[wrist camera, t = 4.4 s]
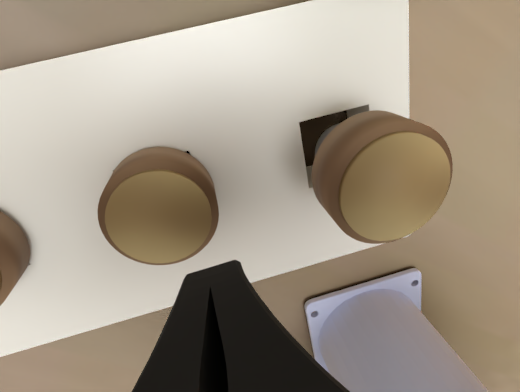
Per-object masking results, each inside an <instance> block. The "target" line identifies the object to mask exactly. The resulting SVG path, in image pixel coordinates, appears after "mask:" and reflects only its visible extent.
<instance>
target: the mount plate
mask: <svg viewBox="0 0 520 392" xmlns="http://www.w3.org/2000/svg"><path fill="white" fill-rule="evenodd" d="M345 110H347V119H348V118H349V117H352V116H354V115H356V114H359V113H362V112H366V111H374V110H380V111H388V112H391V113H394V114H397V115H400V116H403V117H405V118H408V119H409V0H312V1H307V2H303V3H298V4H294V5H289V6H285V7H281V8H276V9H272V10H267V11H263V12H258V13H254V14H249V15H245V16H241V17H236V18H232V19H227V20H223V21H218V22H214V23H209V24H205V25H201V26H196V27H192V28H187V29H183V30H178V31H174V32H169V33H165V34H161V35H156V36H152V37H147V38H143V39H138V40H134V41H129V42H125V43H121V44H116V45H112V46H107V47H103V48H98V49H94V50H89V51H85V52H81V53H76V54H72V55H67V56H63V57H58V58H54V59H49V60H45V61H41V62H36V63H32V64H27V65H23V66H18V67H14V68H9V69H5V70H1V71H0V211H1V212H3V213H4V214H6V215H7V216H9V217H10V218H11V219H12V220H13V221H14V222H16V224H17V225H18V226H19V227H20V228H21V229H22V231H23V232H24V234H25V236H26V238H27V240H28V243H29V246H30V260H29V264H28V266H27V268H26V270H25V272H24V273H23V275H22V276H21V278H20V279H19V281H18V282H17V284H16V285H15V286H14V288H13V289H12V291H11V292H10V294H9V295H8V297H7V298H6V300H5V301H4V302H3V303H2V305H1V306H0V357H2V356H5V355H8V354H12V353H15V352H19V351H22V350H25V349H29V348H32V347H35V346H39V345H42V344H46V343H49V342H52V341H56V340H59V339H63V338H66V337H69V336H73V335H76V334H79V333H83V332H86V331H90V330H93V329H96V328H100V327H103V326H107V325H110V324H113V323H117V322H120V321H123V320H127V319H130V318H134V317H137V316H140V315H144V314H147V313H151V312H154V311H157V310H161V309H164V308H168V307H171V306H173V305H174V303H175V300H176V298H177V295H178V293H179V290H180V288H181V285H182V282H183V280H184V278H185V276H186V275H187V274H189V273H193V272H196V271H199V270H202V269H206V268H209V267H212V266H216V265H219V264H222V263H225V262H229V261H232V260H237V261H239V262H241V265H242V268H243V271H244V273H245V275H246V277H247V278H248V280H249V282H250V283H252V282H256V281H259V280H262V279H266V278H269V277H272V276H276V275H279V274H283V273H286V272H289V271H293V270H296V269H300V268H303V267H306V266H310V265H313V264H316V263H320V262H323V261H327V260H330V259H333V258H337V257H340V256H344V255H347V254H350V253H354V252H357V251H360V250H364V249H367V248H371V247H374V246H377V245H381V244H384V243H381V244H370V243H364V242H360V241H357V240H355V239H353V238H351V237H350V236H348V235H346V234H345V233H344V232H343V231H342V230H341V229H340V228H339V226H338V225H337V224H336V223H335V221H334V220H333V219H332V218H331V216H330V215H329V214H328V213H327V211H326V210H325V209H324V208H323V207H322V205H321V204H320V203H319V201H318V199H317V198H316V196H315V193H314V190H313V186H312V167H313V165H311V166H307V167H306V164H305V158H304V151H303V145H302V138H301V132H300V125H299V122H302V121H306V120H309V119H313V118H317V117H321V116H325V115H329V114H333V113H337V112H341V111H345ZM151 147H169V148H174V149H178V150H181V151H183V152H185V151H189V152H190V155H191V156H193V157H194V158H196V159H197V160H198V161H199V162H200V163H201V164H202V165H203V166H204V167H205V168H206V169H207V171H208V172H209V174H210V176H211V178H212V181H213V183H214V188H215V193H216V198H217V203H218V208H219V219H218V225H217V228H216V231H215V233H214V235H213V237H212V239H211V240H210V242H209V243H208V244H207V245H206V246H205V247H204V248H203V249H202V250H201V251H200V252H199V253H197V254H196V255H194V256H193V257H191V258H189V259H187V260H184V261H181V262H179V263H174V264H169V265H149V264H144V263H140V262H137V261H134V260H132V259H129V258H127V257H125V256H124V255H122V254H121V253H119V252H118V251H117V250H115V249H114V248H113V247H112V246H111V245H110V244H109V242H108V241H107V240H106V238H105V237H104V235H103V233H102V231H101V228H100V226H99V221H98V204H99V200H100V197H101V194H102V192H103V190H104V188H105V186H106V184H107V182H108V181H109V179H110V177H111V175H112V173H113V171H114V170H115V168H116V167H117V166H118V165H119V163H120V162H121V161H123V160H124V159H125V158H126V157H128V156H129V155H131V154H133V153H135V152H137V151H139V150H142V149H146V148H151ZM408 236H410V234H409V235H408ZM408 236H405V237H408ZM405 237H403V238H405Z"/></svg>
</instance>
